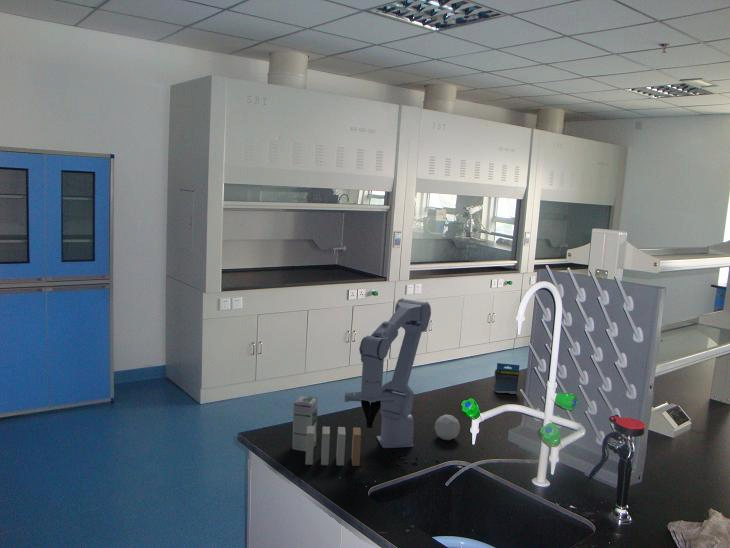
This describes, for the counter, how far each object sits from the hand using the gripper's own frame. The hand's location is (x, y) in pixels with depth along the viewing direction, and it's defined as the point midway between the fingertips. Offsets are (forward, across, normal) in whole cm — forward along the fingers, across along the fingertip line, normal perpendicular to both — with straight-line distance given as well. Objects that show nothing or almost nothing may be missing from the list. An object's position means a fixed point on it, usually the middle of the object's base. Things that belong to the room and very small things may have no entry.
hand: (369, 426), depth 163 cm
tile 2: (+10, -8, 0) cm, 13 cm away
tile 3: (+10, -12, 0) cm, 16 cm away
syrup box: (+11, -18, +8) cm, 23 cm away
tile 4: (+10, -16, 0) cm, 19 cm away
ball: (+11, +26, +18) cm, 33 cm away
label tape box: (+11, +58, +63) cm, 87 cm away
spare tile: (+10, -3, 0) cm, 11 cm away
